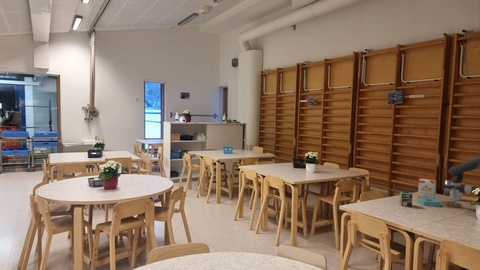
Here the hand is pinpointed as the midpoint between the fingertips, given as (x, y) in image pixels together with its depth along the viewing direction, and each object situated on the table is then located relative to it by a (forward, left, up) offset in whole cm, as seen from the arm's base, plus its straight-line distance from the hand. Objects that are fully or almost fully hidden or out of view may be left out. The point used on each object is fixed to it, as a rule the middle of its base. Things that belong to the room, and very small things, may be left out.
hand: (444, 186), depth 298 cm
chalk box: (+37, +11, -18) cm, 42 cm away
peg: (-2, +2, -8) cm, 9 cm away
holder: (-5, +2, -18) cm, 19 cm away
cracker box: (+9, -16, -18) cm, 26 cm away
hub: (+13, +1, -18) cm, 22 cm away
